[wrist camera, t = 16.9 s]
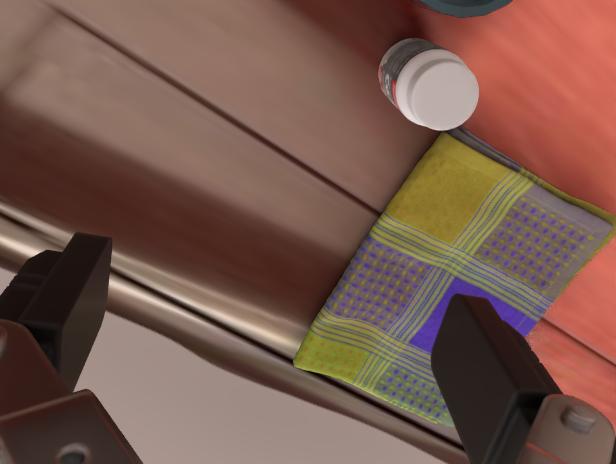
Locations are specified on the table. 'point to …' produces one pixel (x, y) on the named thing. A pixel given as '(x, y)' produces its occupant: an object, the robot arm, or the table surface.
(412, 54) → the pill bottle
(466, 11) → the bowl
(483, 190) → the dish towel
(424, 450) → the table surface
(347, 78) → the table surface
